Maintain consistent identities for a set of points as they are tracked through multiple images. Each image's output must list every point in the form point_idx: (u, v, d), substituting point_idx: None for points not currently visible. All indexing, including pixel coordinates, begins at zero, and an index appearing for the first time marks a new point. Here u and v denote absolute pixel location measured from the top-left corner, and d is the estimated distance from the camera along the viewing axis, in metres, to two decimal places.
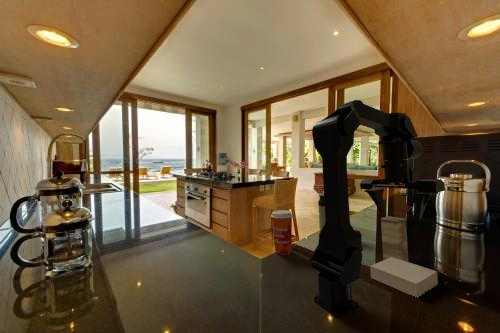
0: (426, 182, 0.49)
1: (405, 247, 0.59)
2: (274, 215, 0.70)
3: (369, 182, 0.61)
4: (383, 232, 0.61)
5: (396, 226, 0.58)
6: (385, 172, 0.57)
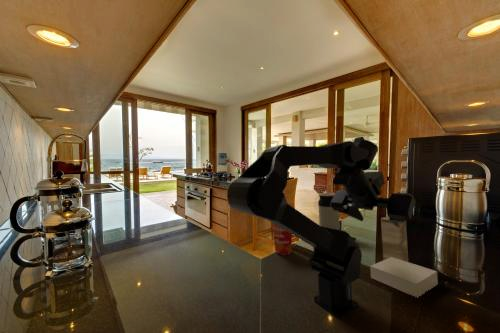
0: (397, 211, 0.45)
1: (405, 247, 0.59)
2: None
3: (339, 206, 0.56)
4: (383, 232, 0.61)
5: (396, 226, 0.58)
6: (352, 199, 0.51)
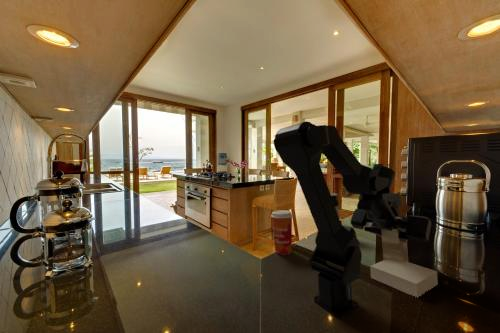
0: (416, 233, 0.50)
1: (405, 247, 0.59)
2: (274, 215, 0.70)
3: (360, 224, 0.61)
4: (383, 231, 0.61)
5: None
6: (372, 220, 0.57)
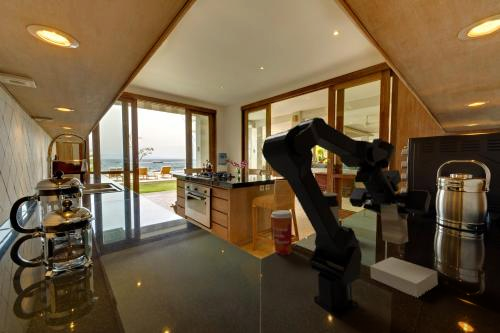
0: (415, 206, 0.49)
1: (405, 224, 0.58)
2: (274, 215, 0.70)
3: (358, 202, 0.61)
4: (382, 209, 0.60)
5: None
6: (371, 195, 0.56)
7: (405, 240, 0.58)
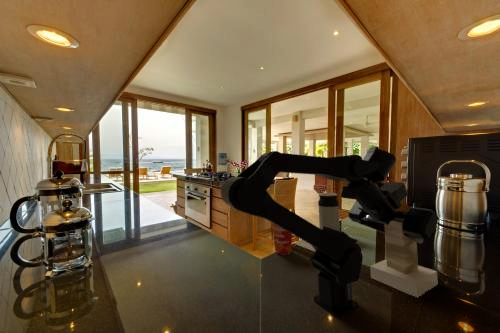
0: (413, 228, 0.41)
1: (413, 251, 0.49)
2: None
3: (356, 217, 0.54)
4: (386, 231, 0.52)
5: (400, 225, 0.48)
6: None
7: (414, 269, 0.49)
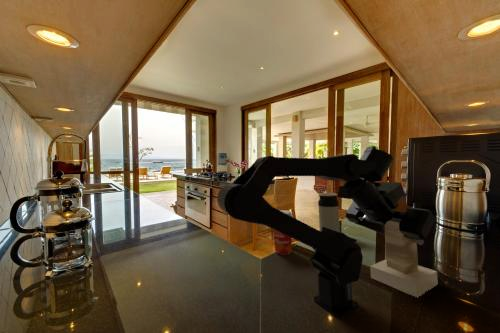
0: (410, 229, 0.41)
1: (413, 251, 0.49)
2: None
3: (354, 217, 0.54)
4: (386, 231, 0.52)
5: None
6: (363, 212, 0.49)
7: (414, 269, 0.49)
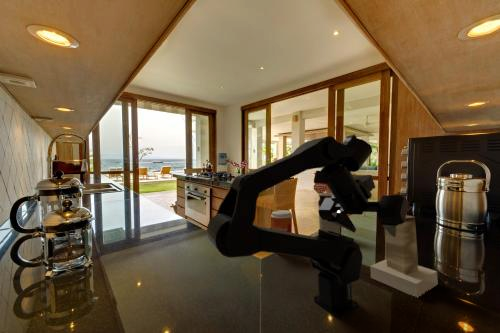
0: (389, 213, 0.39)
1: (413, 251, 0.49)
2: (274, 215, 0.70)
3: (328, 213, 0.51)
4: (386, 231, 0.52)
5: (400, 225, 0.48)
6: (339, 203, 0.46)
7: (414, 269, 0.49)
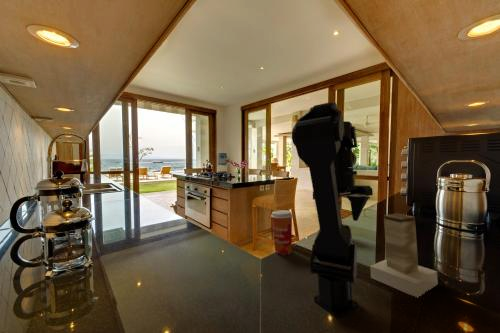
0: (368, 187, 0.59)
1: (413, 251, 0.49)
2: (274, 215, 0.70)
3: None
4: (386, 231, 0.52)
5: (400, 225, 0.48)
6: (346, 180, 0.55)
7: (414, 269, 0.49)
